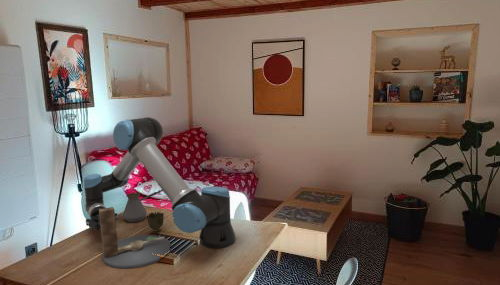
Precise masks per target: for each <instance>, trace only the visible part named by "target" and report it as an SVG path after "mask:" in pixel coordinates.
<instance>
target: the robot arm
mask: <svg viewBox="0 0 500 285" xmlns="http://www.w3.org/2000/svg"><path fill="white" fill-rule="evenodd" d="M163 134H164V130H163V126H162V124H161V123H160V122H159V121H158V120H157V119H156V118H154V117H149V116H148V117H140V118H134V119H133V118H132V119H125V120H121V121H118V122H117V123H116V125H115V126H114V128H113V134H112V138H113V142H114V144H115V146H116V148H117V149H118V150H120V151H127V152H126V153H125V155H124V156H123V157H122V159H121V160H120V161H119V163H118V164H117V165H116V166H115V168H114V169H113V170H112V171H111V173H110V174H107V175H101V174H99V173H92V174H87V175H85V176H84V177H83V187H84V194H85V204H84V206H85V211H86V212H87V214H88V216H89V218H86V219H85V224H86V225H85V226H87V227H90V228H92V229H93V230H95V231H100V230H101V227H100V217H99V210H100V209H105V208H107V207H106V206H105V204H104V193H107V192H109V191H112V190H115V189H119V188H123V187H124V186H126V185H128V183H129V180H130V176H131V174H132V173H133V172H134V171H135V169H136V168H137V167H138V166H139V164H140V163H141V164H142V165H143V166H144V168H145V169H146V171H148V173H149V174H150V176H151V177H152V178H153V179H154V181H155V182H156V183H157V185H158V186H159V188H161V189H160V190H163V191H164V192H163V191H162V192H163V193H164V194H165V195H166V197H167V198H168V200H170V201H171V206H170V208H171V210H172V218H173V224H174V225H175V226H176V227H177V228H178V229H179V230H180V231H181V232H184V233H187V234H192V233H196V232H199V231H200V233H199V238H198V239H199V240H200V241H199V244H200V245H201V246H202V247H203V248H204V247H205V248H208V249H222V248H226V247H229V246H231V245H233V244H234V243H235V241H236V233H235V230H234V227H233V225H232V223H231V196H230V191H229V189H228V188H226V187H222V186H205V187H202V188H201V191H200V192H198V190H197V189H195V188H190V187H189V185H188V184H187V182H185V180H184V179H183V178H182V176H180V174H179V173H178V172H177V170H176V169H175V168H174V167H173V165H172V164H171V163H170V162H169V160H168V158H166V157H165V155H164V154H163V153H162V151H161V150H160V149H159V148H158V145H159V144H160V142H161V141H162V138H163ZM118 219H119V216H118V213H117V212H116V213H115V222H116V223H117V220H118Z"/></svg>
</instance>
